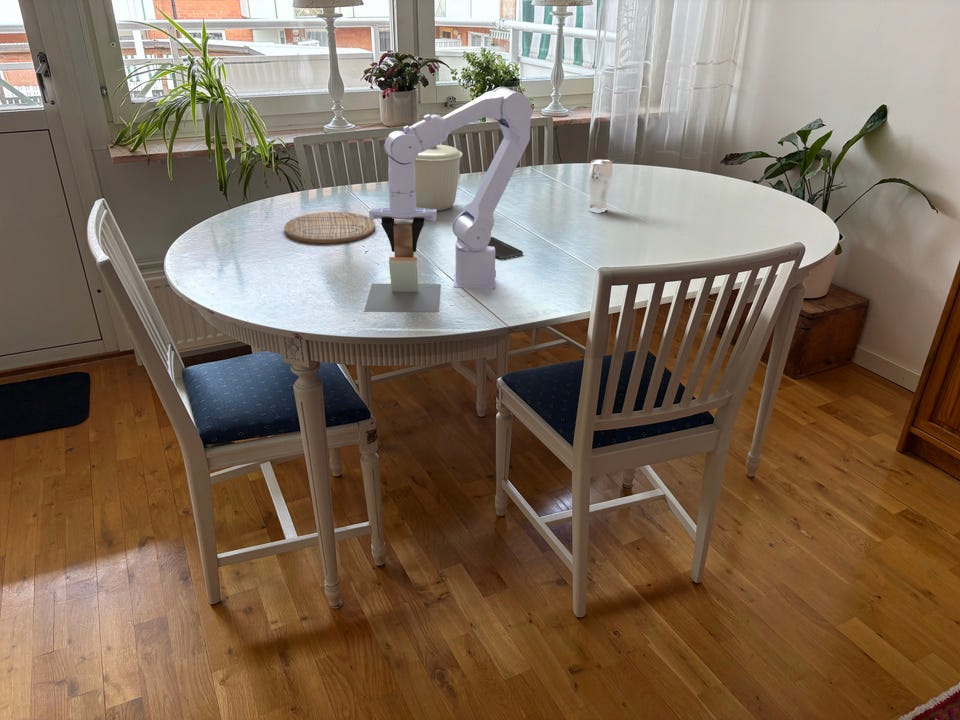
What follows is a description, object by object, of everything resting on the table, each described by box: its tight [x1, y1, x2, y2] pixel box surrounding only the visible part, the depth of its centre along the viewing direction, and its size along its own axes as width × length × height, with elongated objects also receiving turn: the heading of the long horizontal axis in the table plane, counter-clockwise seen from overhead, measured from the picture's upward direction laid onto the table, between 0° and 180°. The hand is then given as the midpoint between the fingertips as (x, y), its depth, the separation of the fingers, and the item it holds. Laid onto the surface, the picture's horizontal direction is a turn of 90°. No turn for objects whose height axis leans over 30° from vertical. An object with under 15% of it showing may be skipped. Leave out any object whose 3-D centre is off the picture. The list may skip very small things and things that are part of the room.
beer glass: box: [587, 158, 614, 209], centre depth 226 cm, size 7×7×15 cm
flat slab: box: [388, 256, 419, 292], centre depth 164 cm, size 6×2×9 cm, turn 91°
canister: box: [415, 144, 463, 212], centre depth 225 cm, size 18×18×21 cm
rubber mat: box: [363, 283, 442, 313], centre depth 165 cm, size 16×16×1 cm
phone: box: [487, 236, 524, 261], centre depth 195 cm, size 8×1×15 cm
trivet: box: [283, 211, 376, 245], centre depth 207 cm, size 25×25×2 cm
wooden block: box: [393, 219, 415, 257], centre depth 164 cm, size 4×4×9 cm
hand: (404, 250), depth 165 cm, fingers closed on wooden block, 4 cm apart
